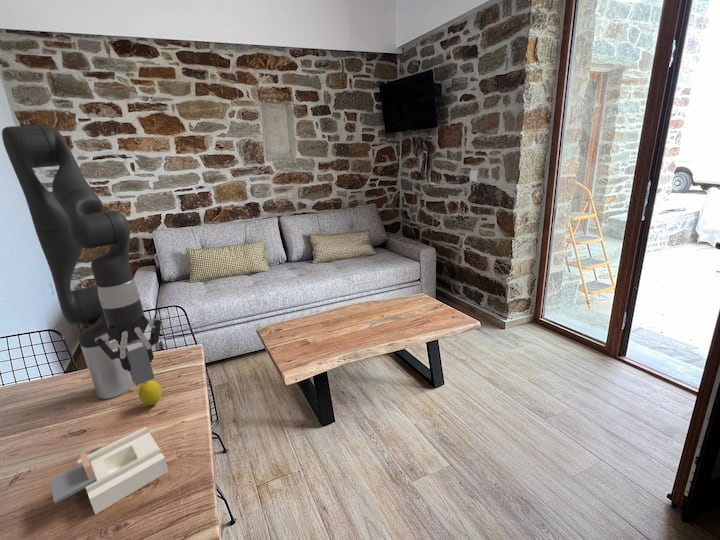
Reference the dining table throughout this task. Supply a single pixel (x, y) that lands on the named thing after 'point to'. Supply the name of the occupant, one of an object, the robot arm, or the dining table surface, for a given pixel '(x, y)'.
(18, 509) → the dining table surface
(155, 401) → the lemon
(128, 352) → the plug
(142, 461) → the socket
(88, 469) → the panel
